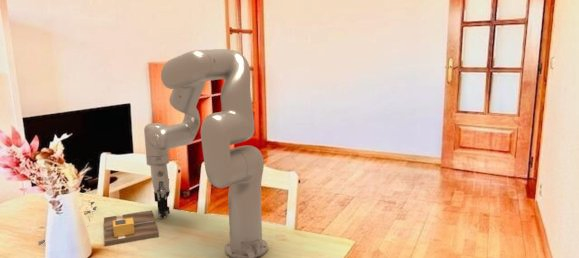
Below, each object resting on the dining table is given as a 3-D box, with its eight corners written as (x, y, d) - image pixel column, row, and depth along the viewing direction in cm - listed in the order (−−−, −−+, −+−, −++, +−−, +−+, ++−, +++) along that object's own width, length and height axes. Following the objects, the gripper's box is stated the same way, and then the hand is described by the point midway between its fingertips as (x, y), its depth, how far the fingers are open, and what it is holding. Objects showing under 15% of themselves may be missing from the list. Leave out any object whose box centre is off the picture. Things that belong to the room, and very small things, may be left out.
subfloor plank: (158, 236, 139) (158, 229, 139) (104, 246, 133) (104, 238, 133) (152, 214, 157) (151, 207, 157) (104, 221, 151) (103, 214, 151)
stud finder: (134, 233, 138) (133, 222, 137) (114, 237, 135) (113, 226, 135) (133, 227, 142) (132, 217, 141) (113, 230, 140) (112, 220, 139)
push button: (165, 220, 152) (163, 193, 150) (151, 219, 153) (149, 192, 151) (173, 213, 158) (172, 187, 156) (160, 212, 159) (158, 186, 157)
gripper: (172, 164, 144) (175, 212, 148) (165, 151, 160) (168, 196, 163) (149, 166, 141) (152, 216, 145) (144, 154, 157) (147, 199, 161)
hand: (161, 205), depth 154 cm, fingers open, 9 cm apart
